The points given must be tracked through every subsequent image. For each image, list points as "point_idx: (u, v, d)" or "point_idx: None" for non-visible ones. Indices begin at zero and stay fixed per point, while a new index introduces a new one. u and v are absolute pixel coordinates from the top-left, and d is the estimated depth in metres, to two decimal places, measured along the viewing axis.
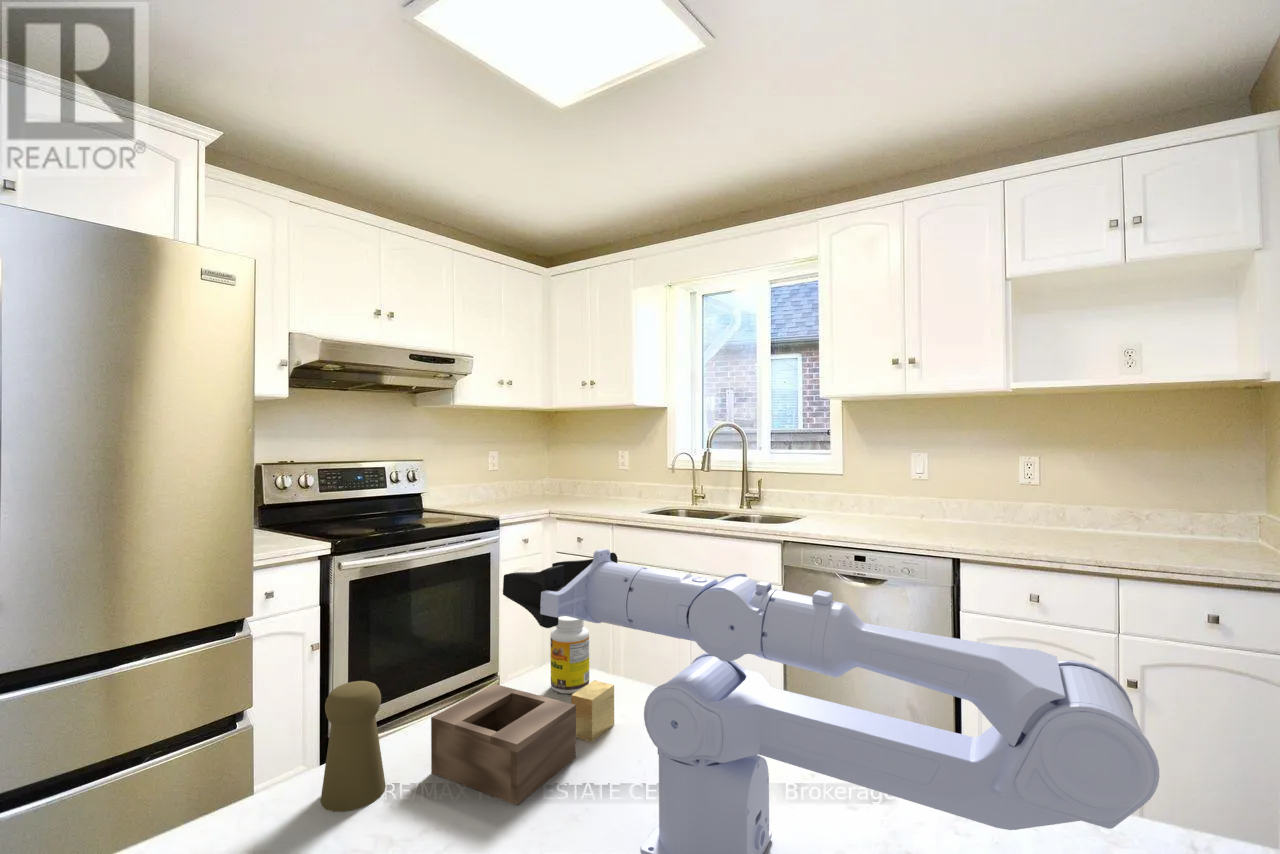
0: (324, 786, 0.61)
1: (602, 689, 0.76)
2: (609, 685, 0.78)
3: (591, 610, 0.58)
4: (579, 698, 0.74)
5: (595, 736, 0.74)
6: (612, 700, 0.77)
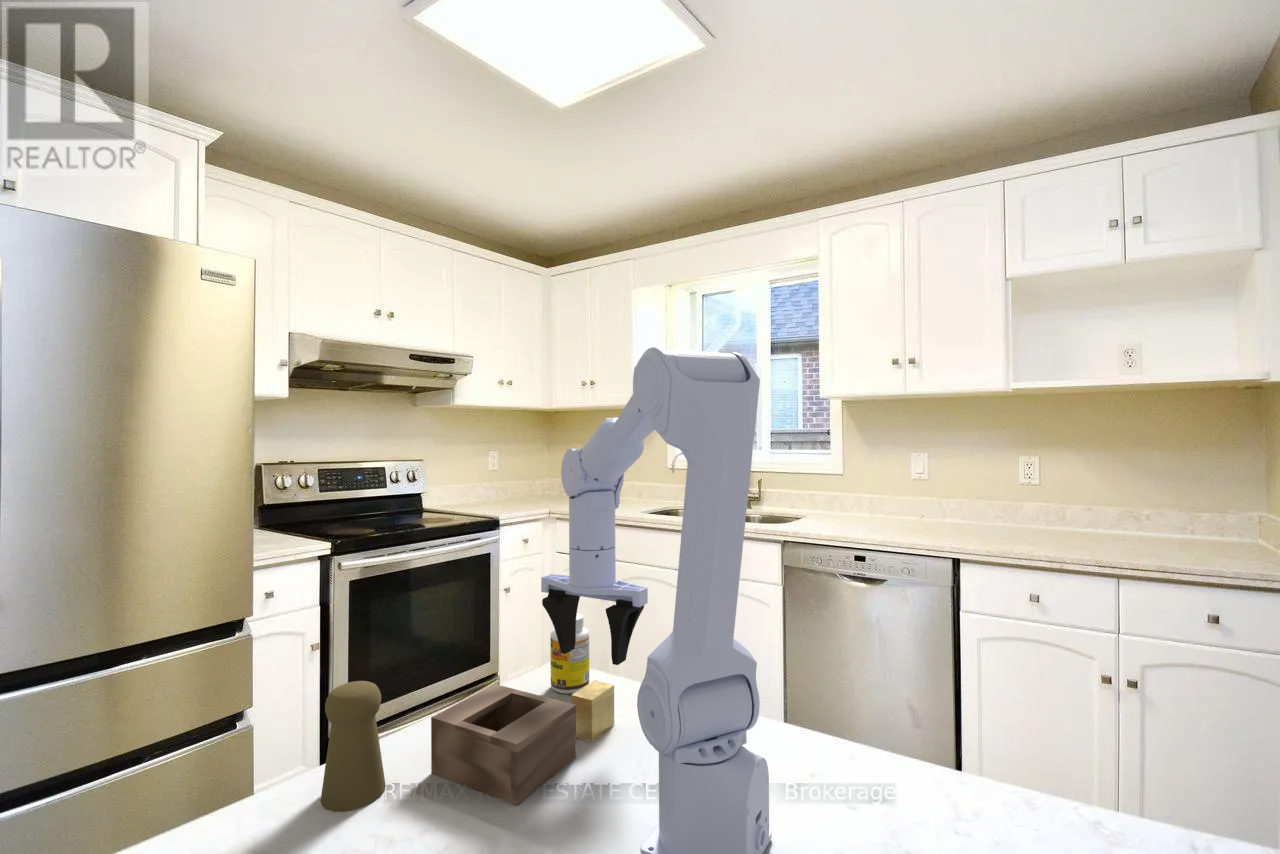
0: (324, 786, 0.61)
1: (602, 689, 0.76)
2: (609, 685, 0.78)
3: (569, 578, 0.77)
4: (579, 698, 0.74)
5: (595, 736, 0.74)
6: (612, 700, 0.77)
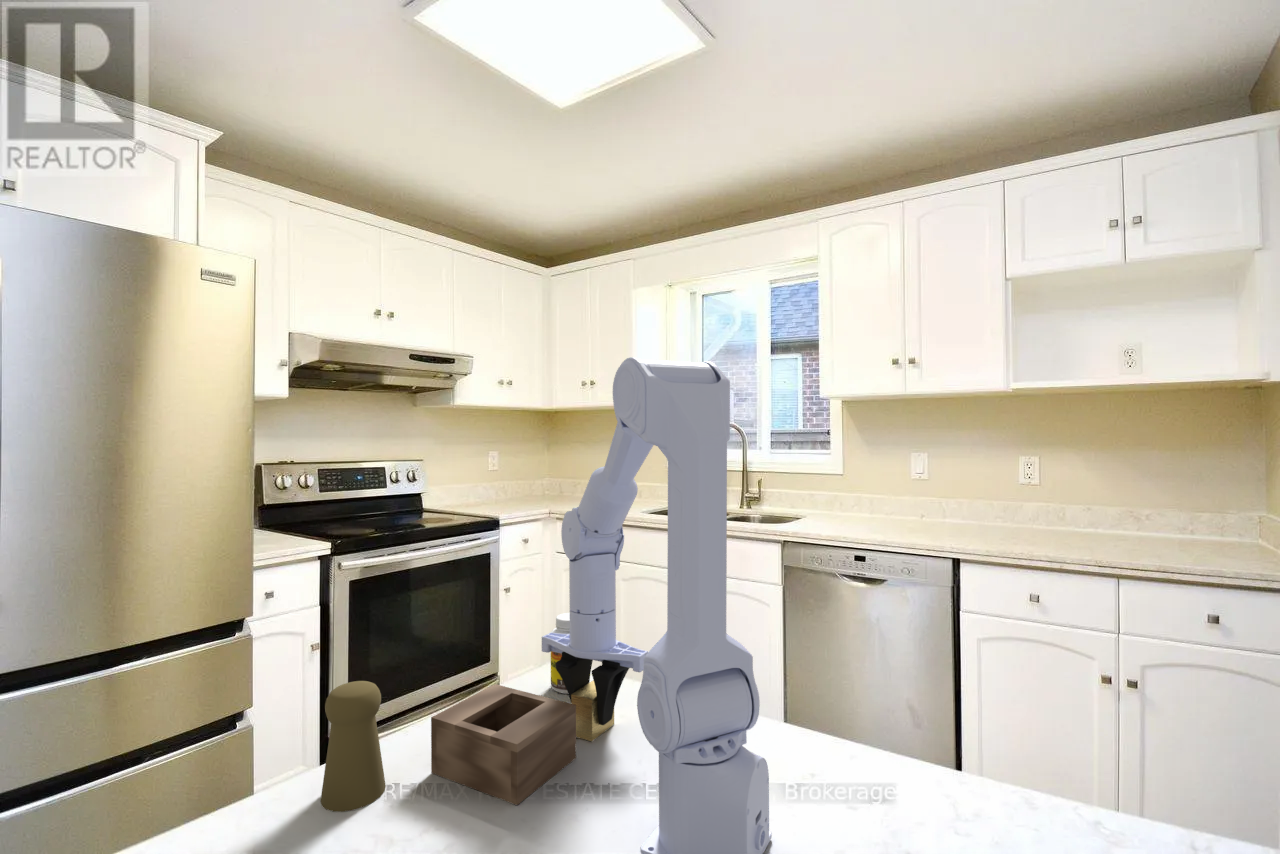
0: (324, 786, 0.61)
1: None
2: None
3: None
4: (579, 697, 0.74)
5: (595, 735, 0.74)
6: None
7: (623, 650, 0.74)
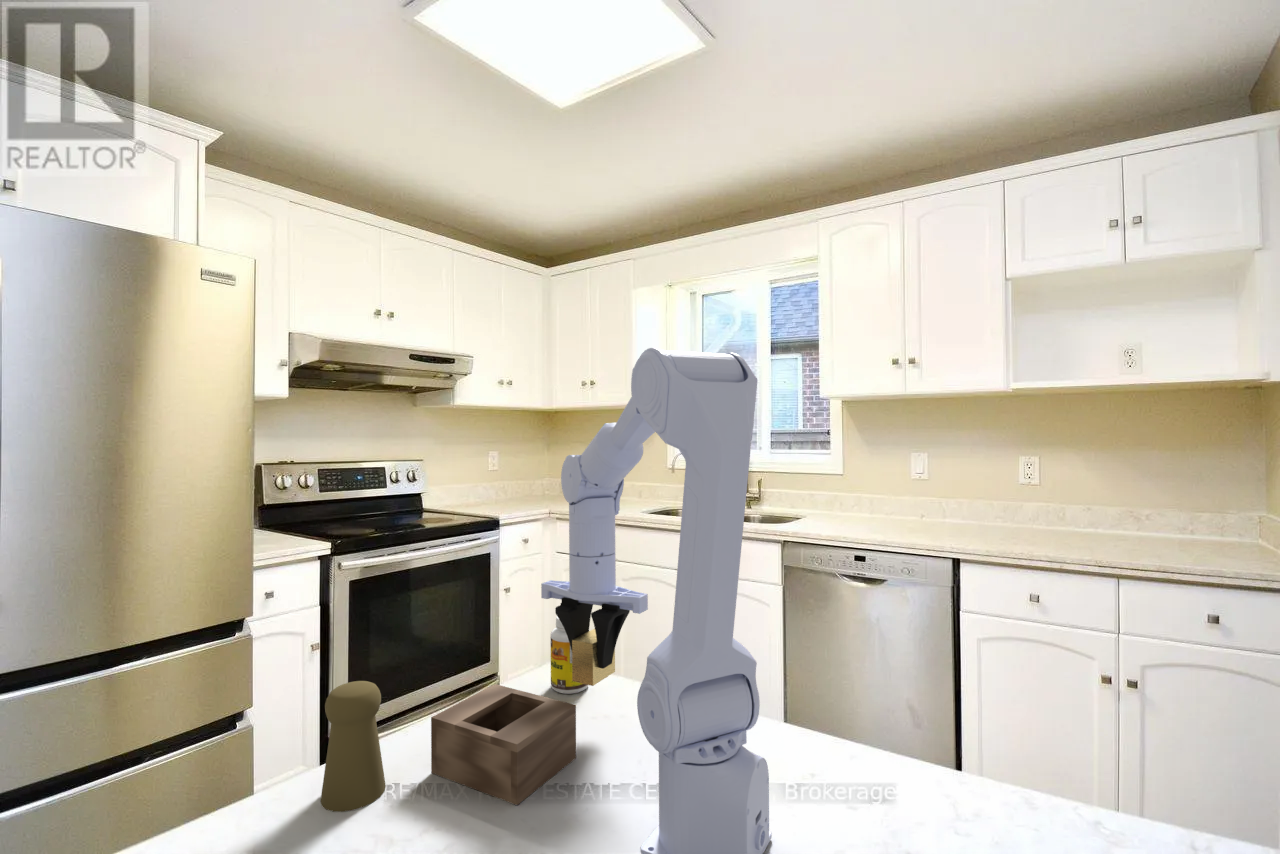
0: (324, 786, 0.61)
1: None
2: None
3: (569, 584, 0.77)
4: (580, 642, 0.74)
5: (596, 680, 0.74)
6: None
7: (623, 593, 0.74)
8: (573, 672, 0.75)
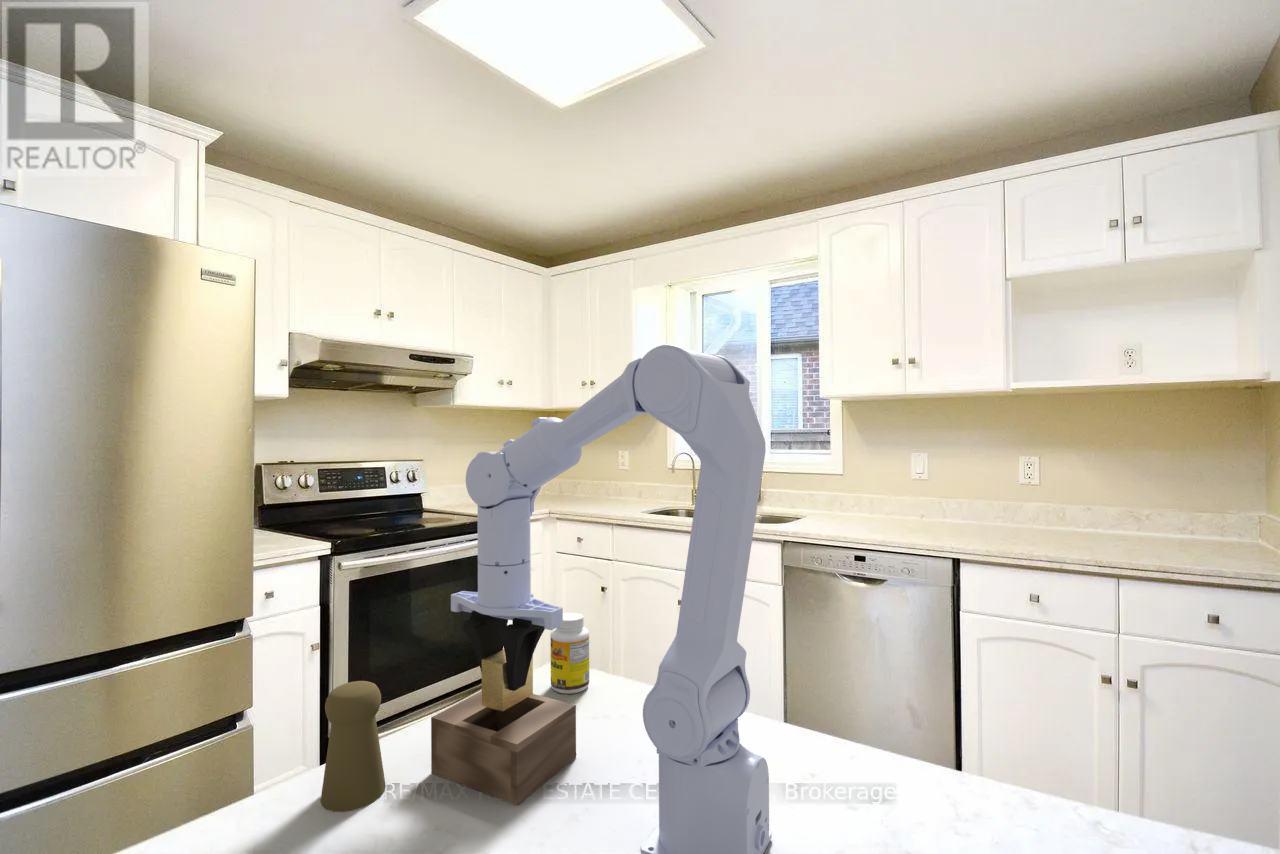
0: (324, 786, 0.61)
1: None
2: None
3: None
4: (490, 662, 0.67)
5: (507, 705, 0.66)
6: (530, 666, 0.70)
7: (535, 606, 0.66)
8: (482, 695, 0.67)
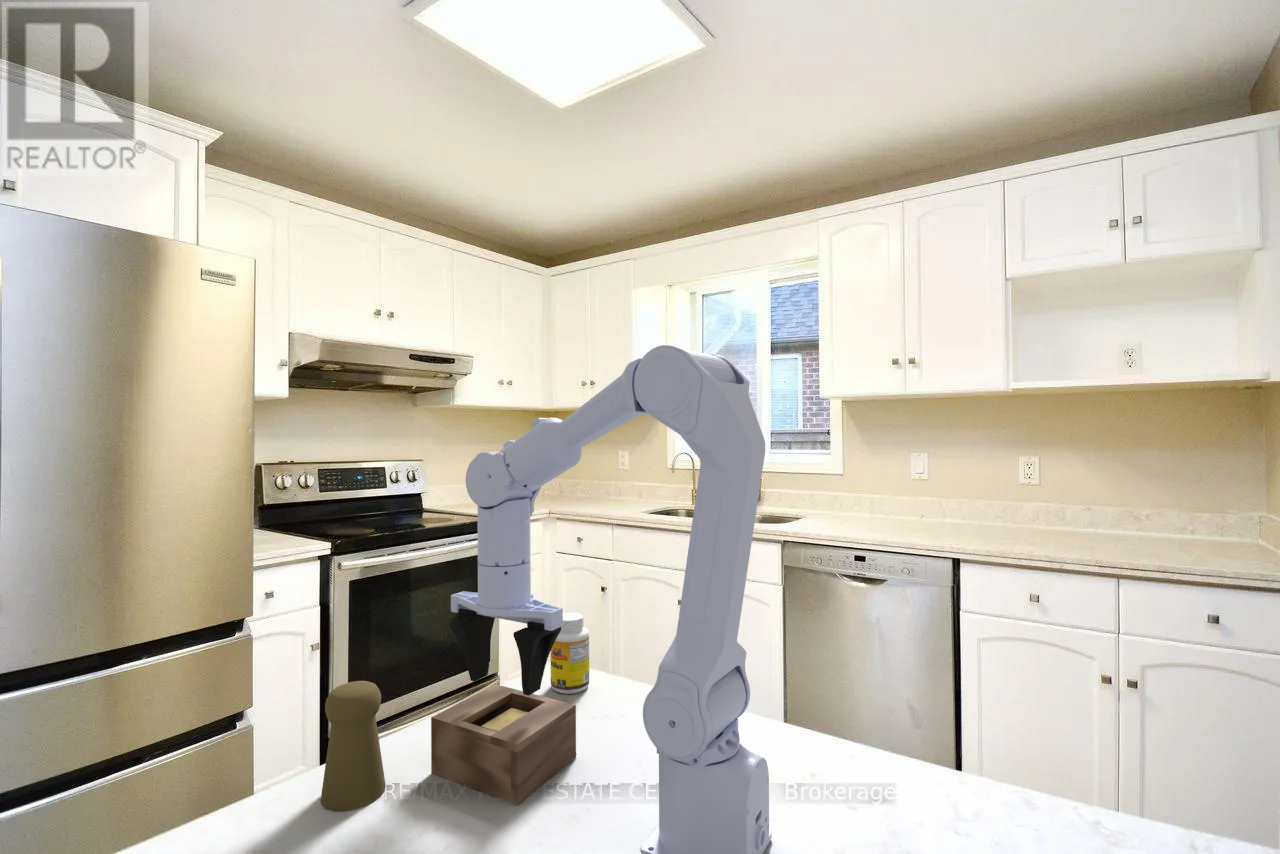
0: (324, 786, 0.61)
1: None
2: None
3: None
4: None
5: None
6: None
7: (535, 607, 0.66)
8: None
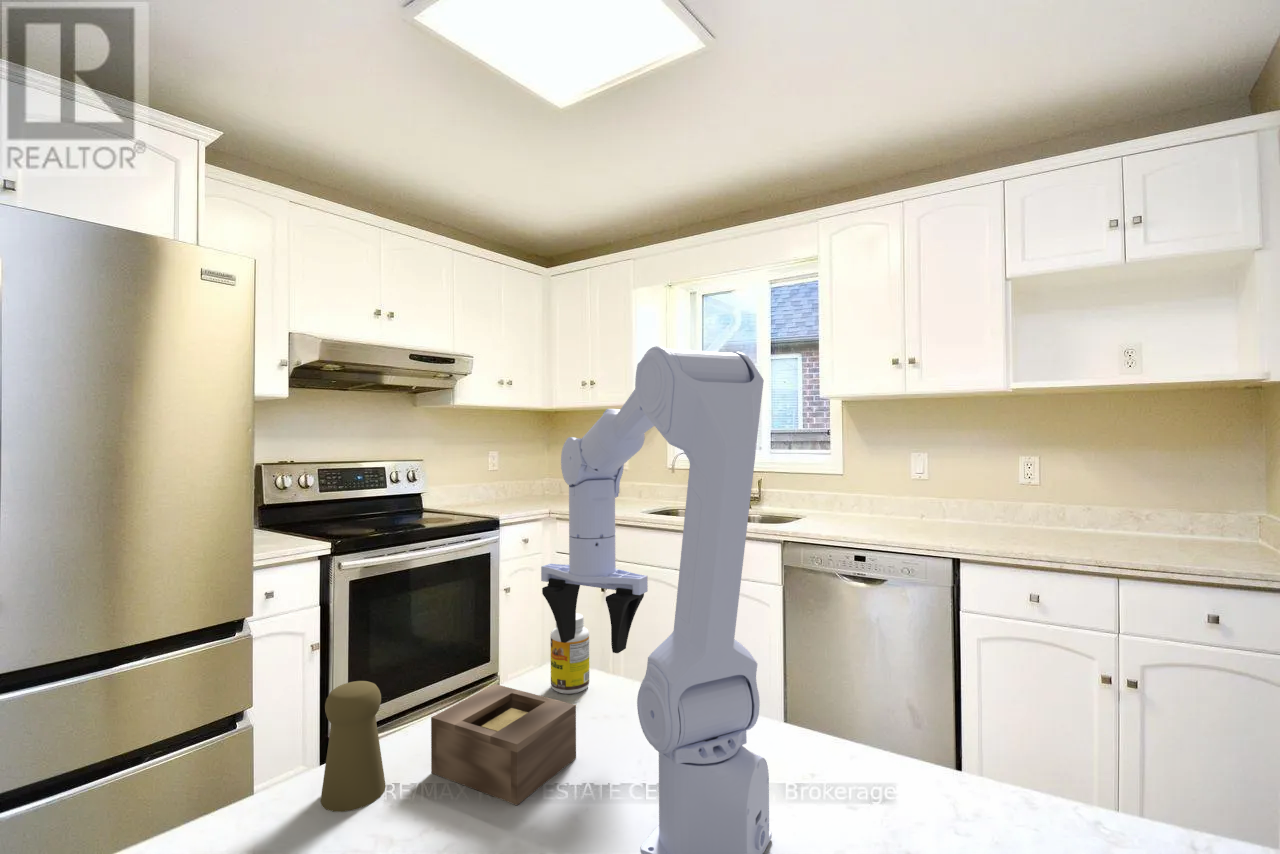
0: (324, 786, 0.61)
1: None
2: None
3: None
4: None
5: None
6: None
7: (623, 575, 0.74)
8: None
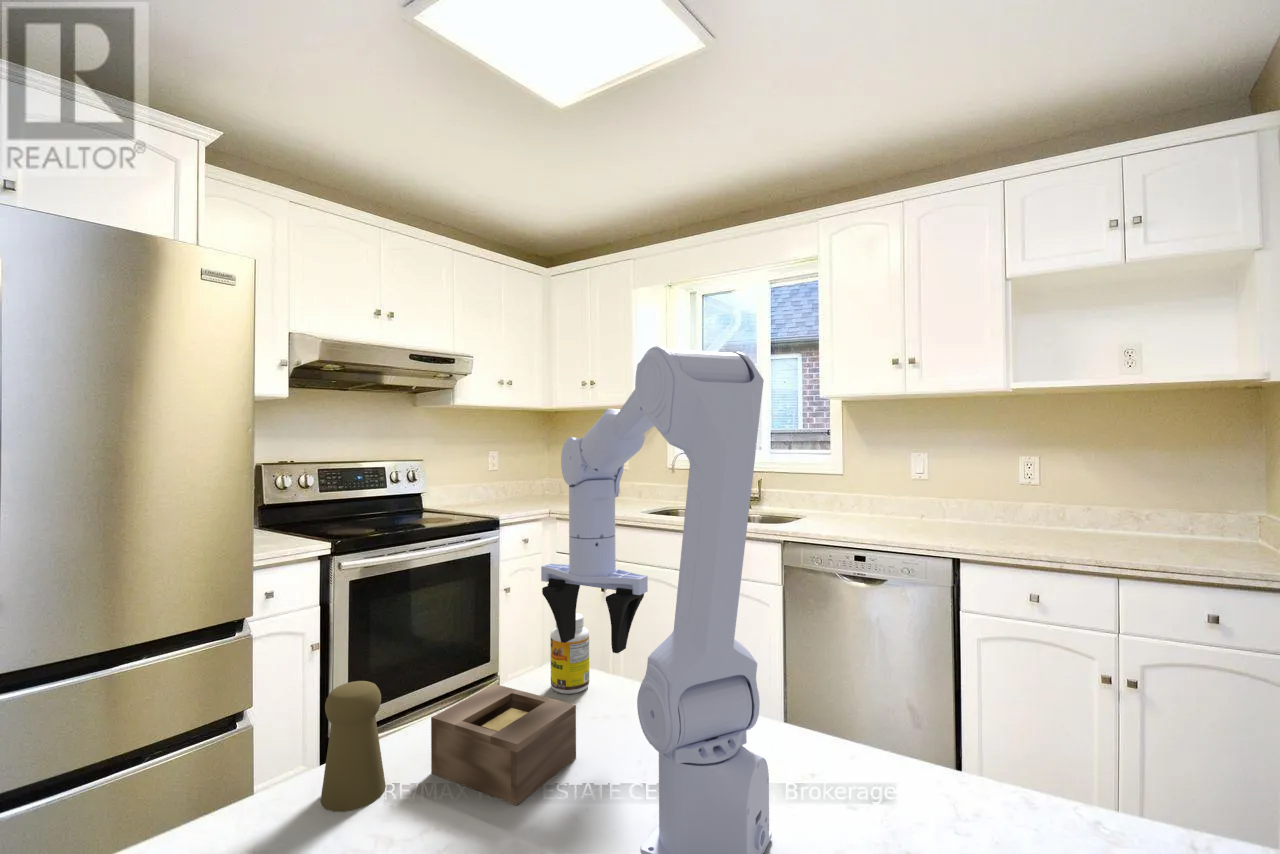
0: (324, 786, 0.61)
1: None
2: None
3: None
4: None
5: None
6: None
7: (623, 575, 0.74)
8: None
